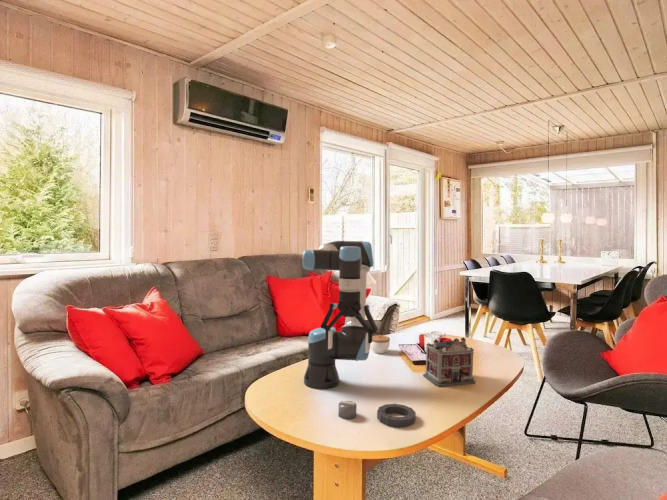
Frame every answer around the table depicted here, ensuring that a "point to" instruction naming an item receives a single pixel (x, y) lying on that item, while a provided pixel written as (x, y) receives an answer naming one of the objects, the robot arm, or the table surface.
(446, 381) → the model building
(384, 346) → the lidded jar
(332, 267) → the robot arm
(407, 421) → the faceted gray torus
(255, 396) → the table surface
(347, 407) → the cap
